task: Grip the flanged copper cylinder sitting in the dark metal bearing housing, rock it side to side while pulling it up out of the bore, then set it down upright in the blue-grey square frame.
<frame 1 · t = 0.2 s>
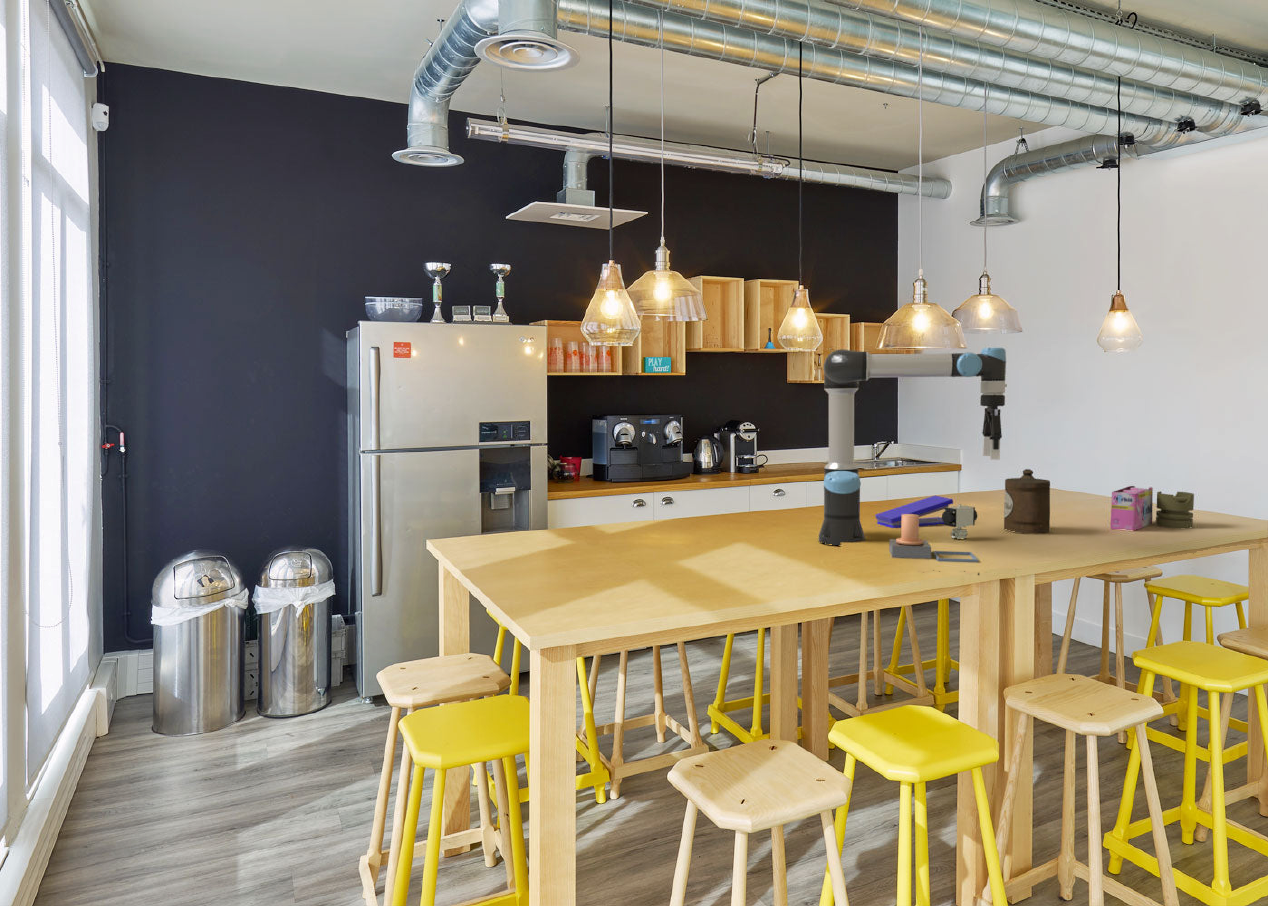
hand: (991, 457, 283), 28 cm above the table, tool pointing down, fingers open, 13 cm apart
bearing housing: (909, 559, 256), on the table
flanged copper cylinder: (909, 554, 256), point 1 cm above the table, touching bearing housing
pneumatic valve: (958, 539, 288), on the table
piston: (1173, 526, 307), on the table
wooden container: (1026, 531, 302), on the table
stapler: (915, 525, 318), on the table
gum box: (1131, 526, 308), on the table
blue-grey square frame: (954, 562, 250), on the table
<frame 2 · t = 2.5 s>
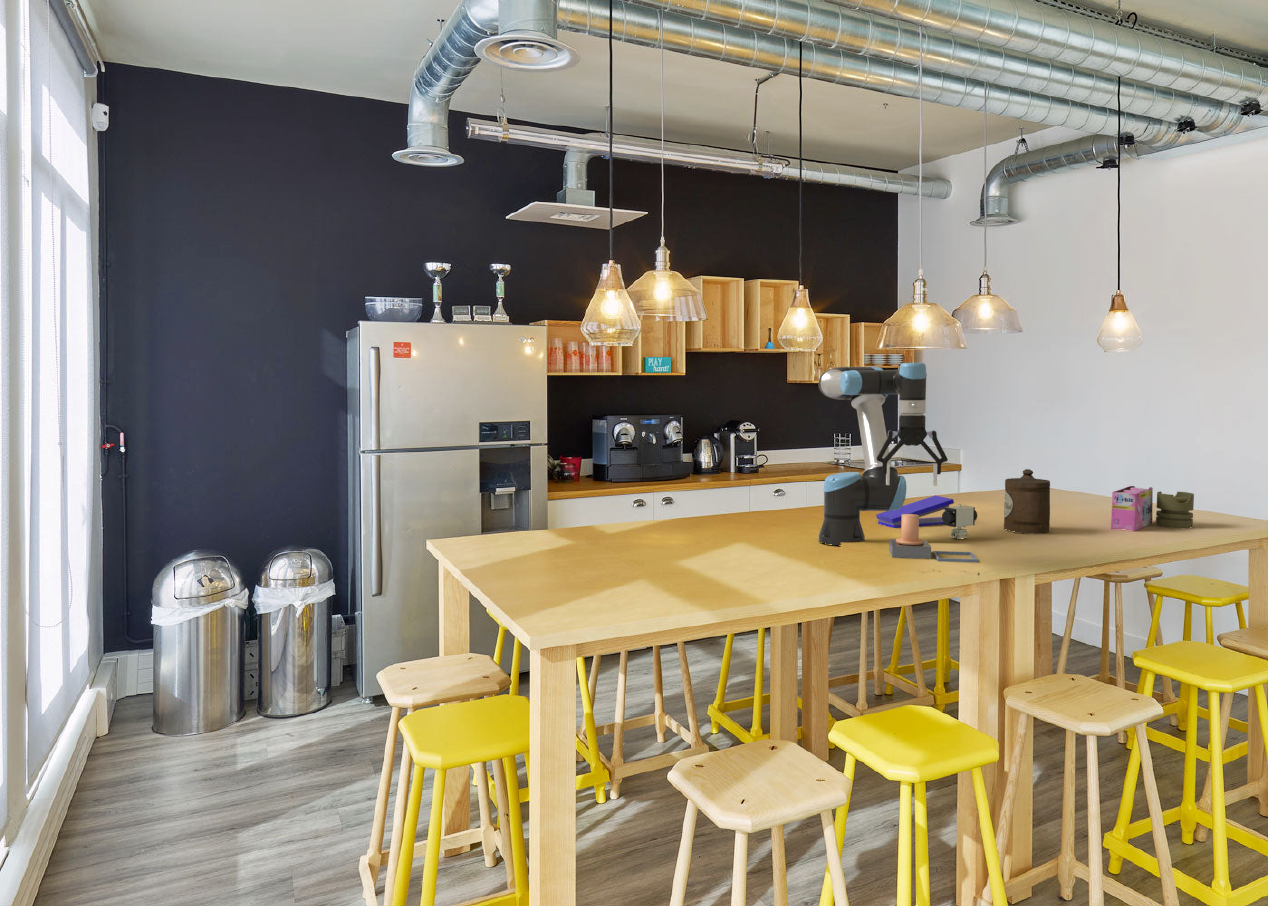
hand: (911, 485, 254), 23 cm above the table, tool pointing down, fingers open, 13 cm apart
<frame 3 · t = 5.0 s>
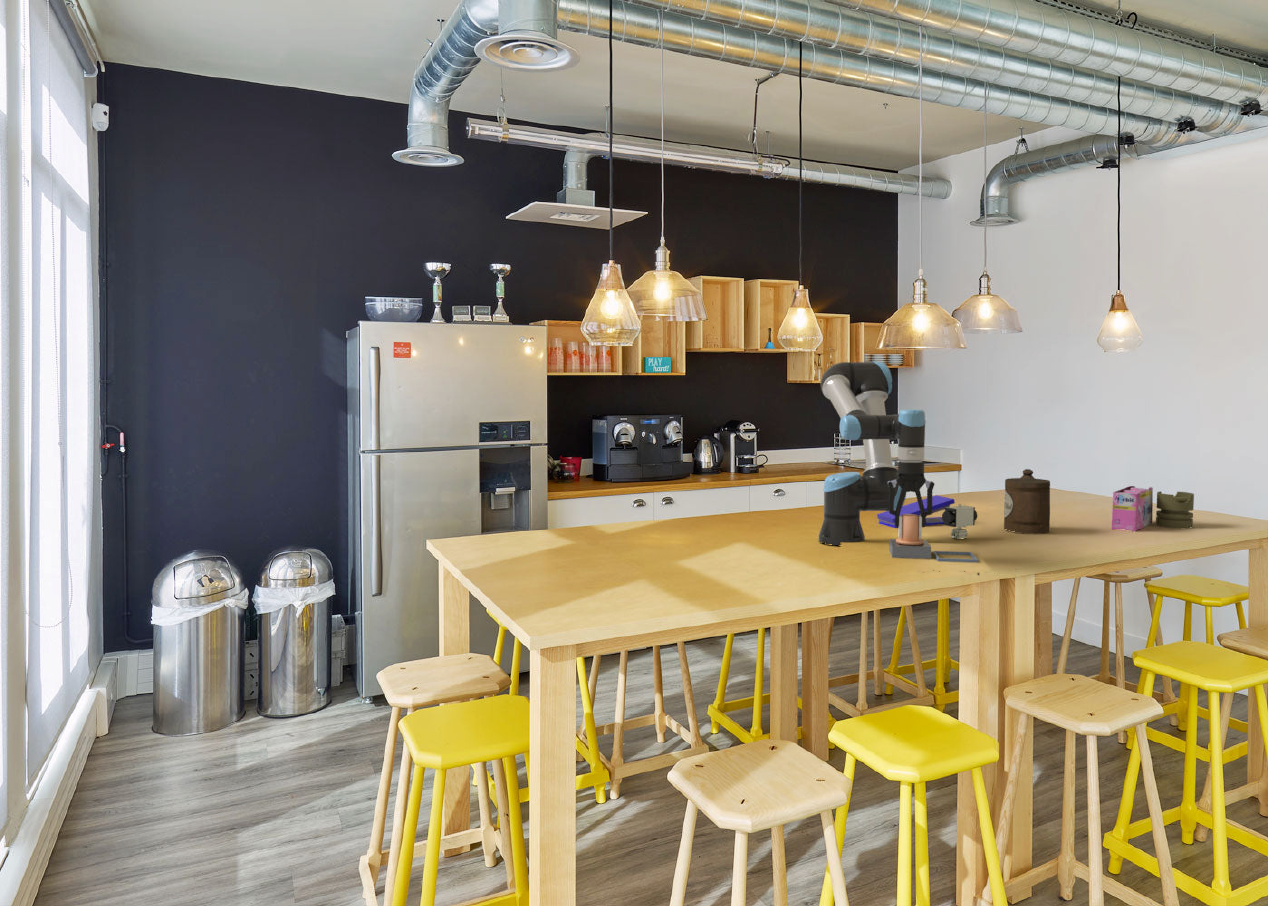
hand: (909, 537, 255), 7 cm above the table, tool pointing down, fingers closed on flanged copper cylinder, 5 cm apart
flanged copper cylinder: (909, 554, 256), point 1 cm above the table, touching bearing housing, gripper
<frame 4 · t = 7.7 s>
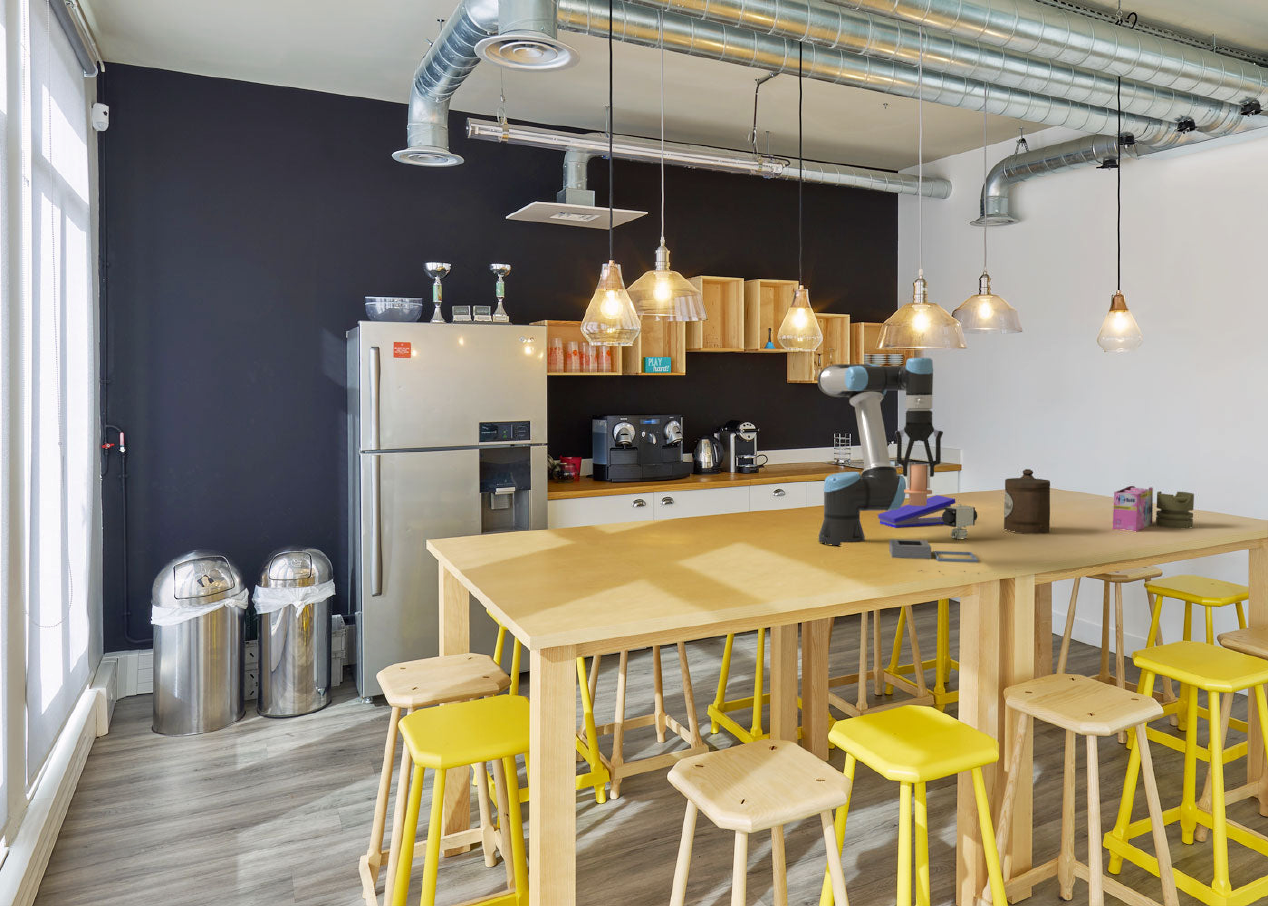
hand: (918, 487, 253), 22 cm above the table, tool pointing down, fingers closed on flanged copper cylinder, 5 cm apart
flanged copper cylinder: (917, 504, 253), point 17 cm above the table, touching gripper
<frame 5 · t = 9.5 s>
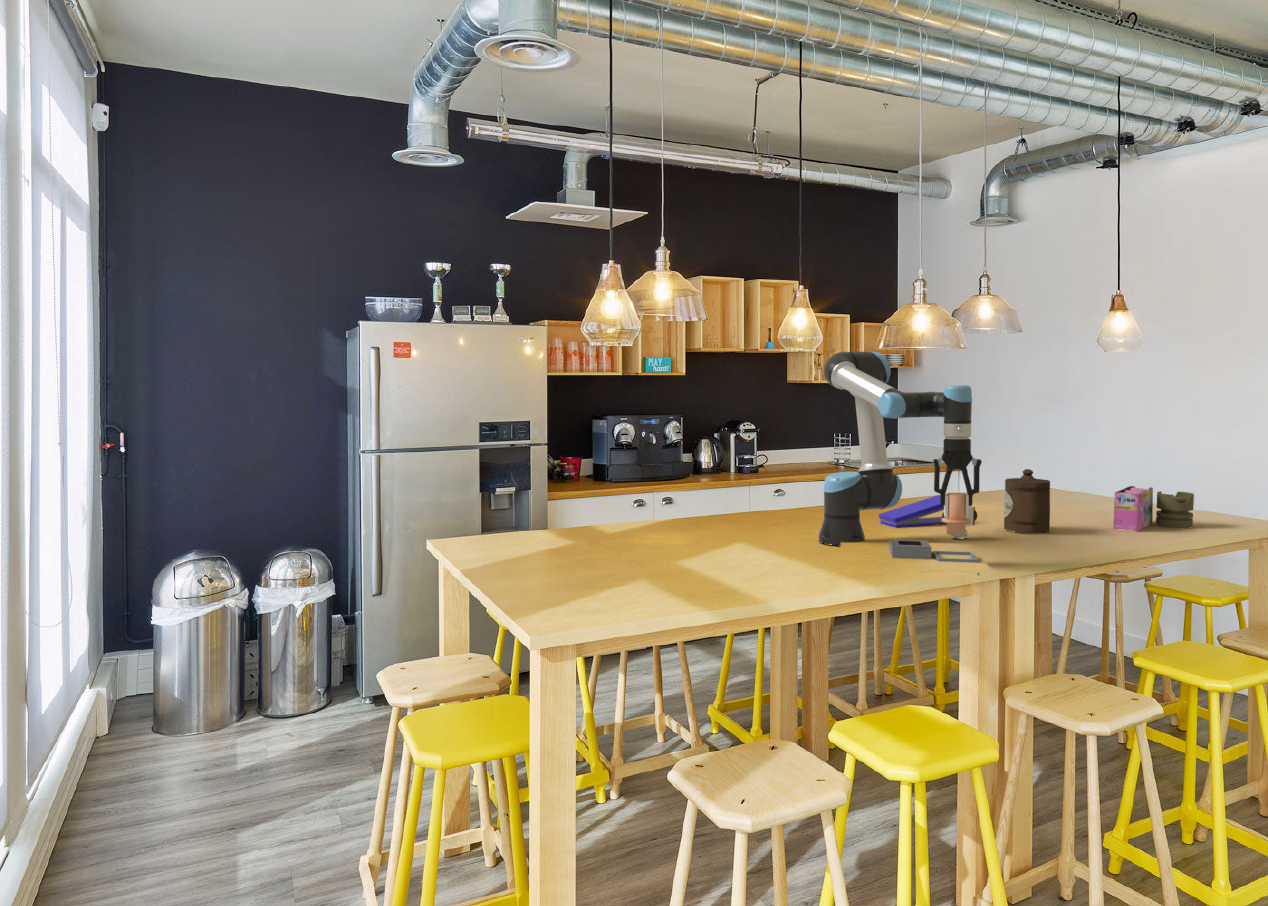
hand: (955, 516, 249), 14 cm above the table, tool pointing down, fingers closed on flanged copper cylinder, 5 cm apart
flanged copper cylinder: (955, 534, 249), point 9 cm above the table, touching gripper
when the fingers open (8 cm above the table, at t = 10.7 s): flanged copper cylinder drops 2 cm, resting on blue-grey square frame.
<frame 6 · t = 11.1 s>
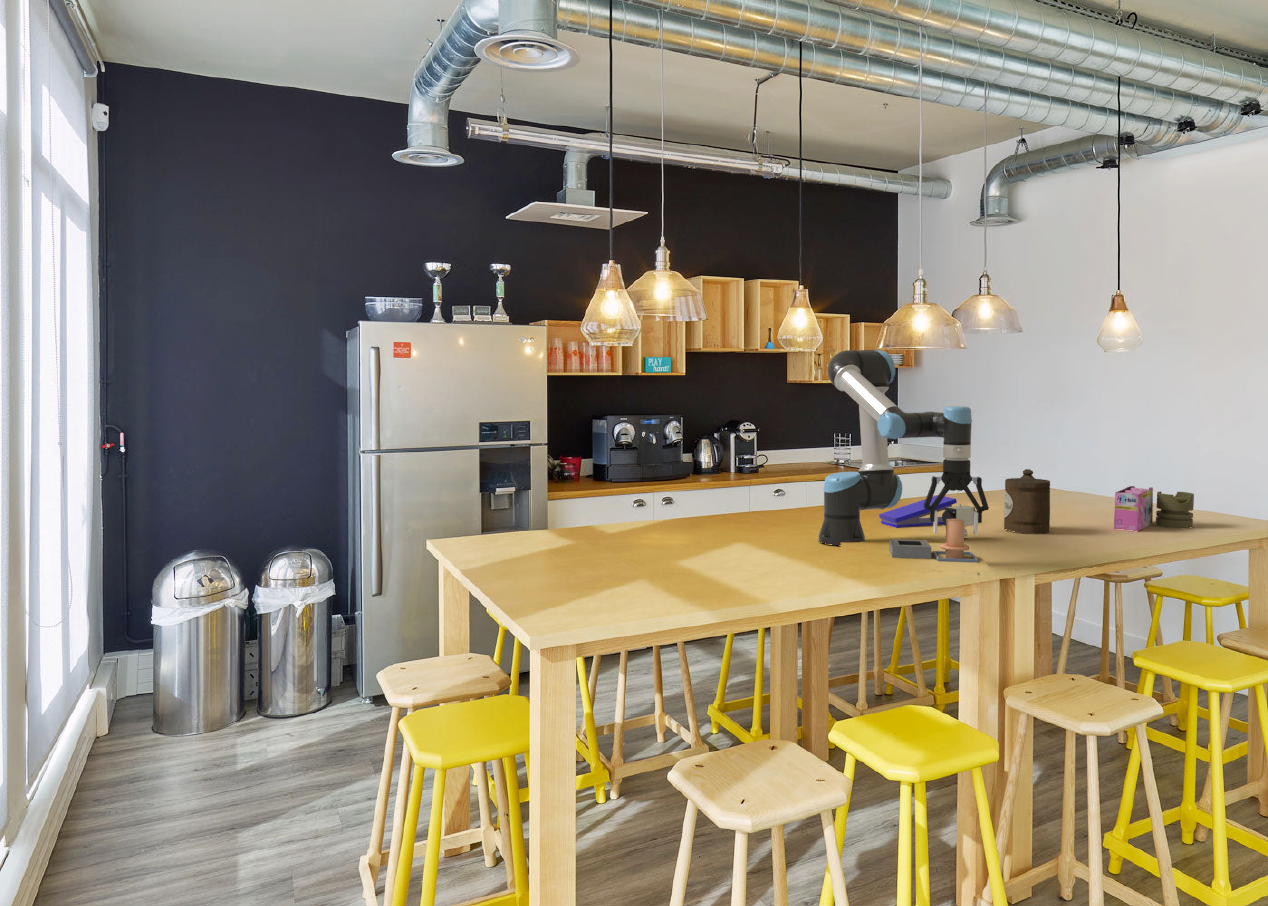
hand: (955, 533, 250), 9 cm above the table, tool pointing down, fingers open, 10 cm apart
flanged copper cylinder: (954, 560, 250), point 1 cm above the table, touching blue-grey square frame
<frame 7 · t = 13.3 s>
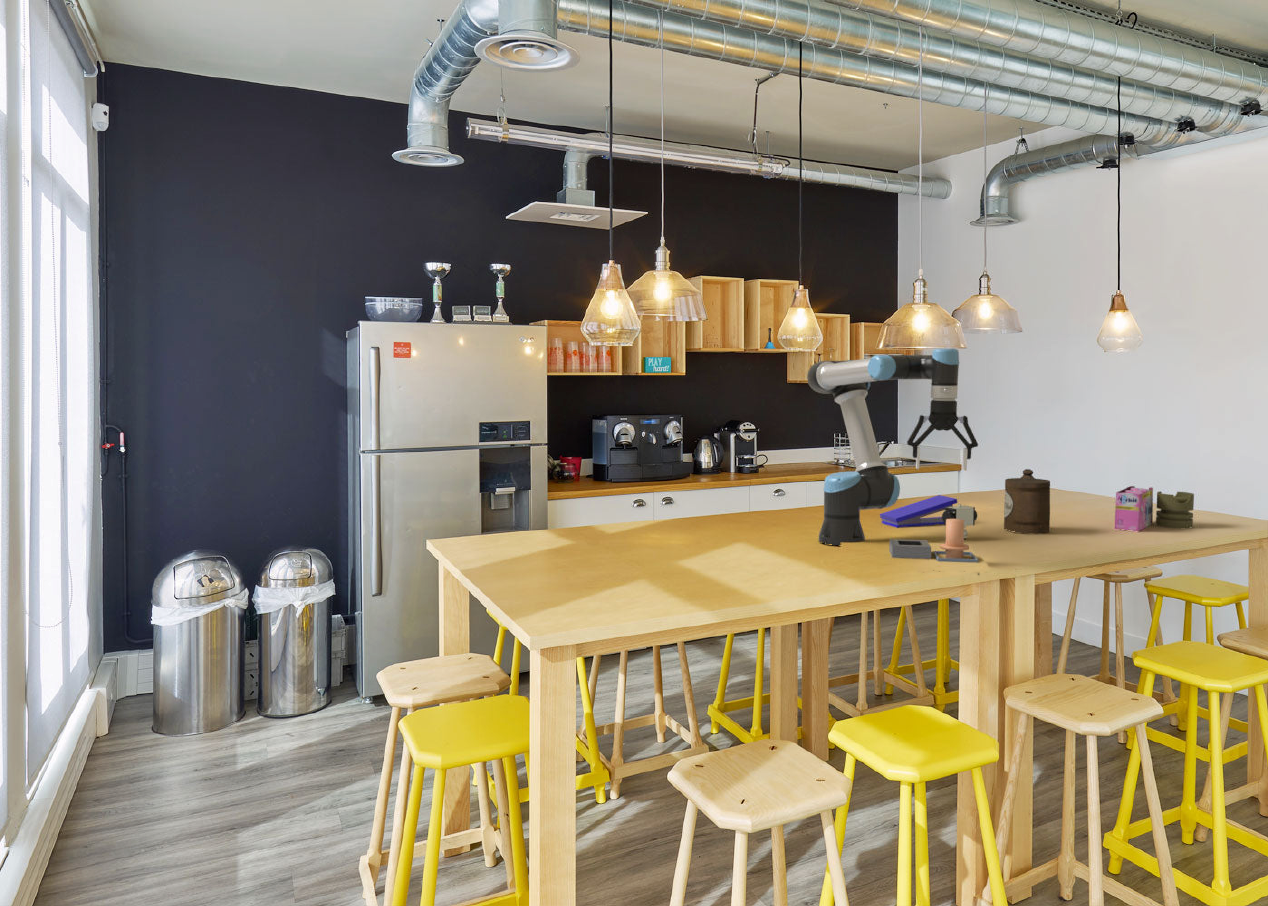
hand: (940, 469, 258), 27 cm above the table, tool pointing down, fingers open, 13 cm apart
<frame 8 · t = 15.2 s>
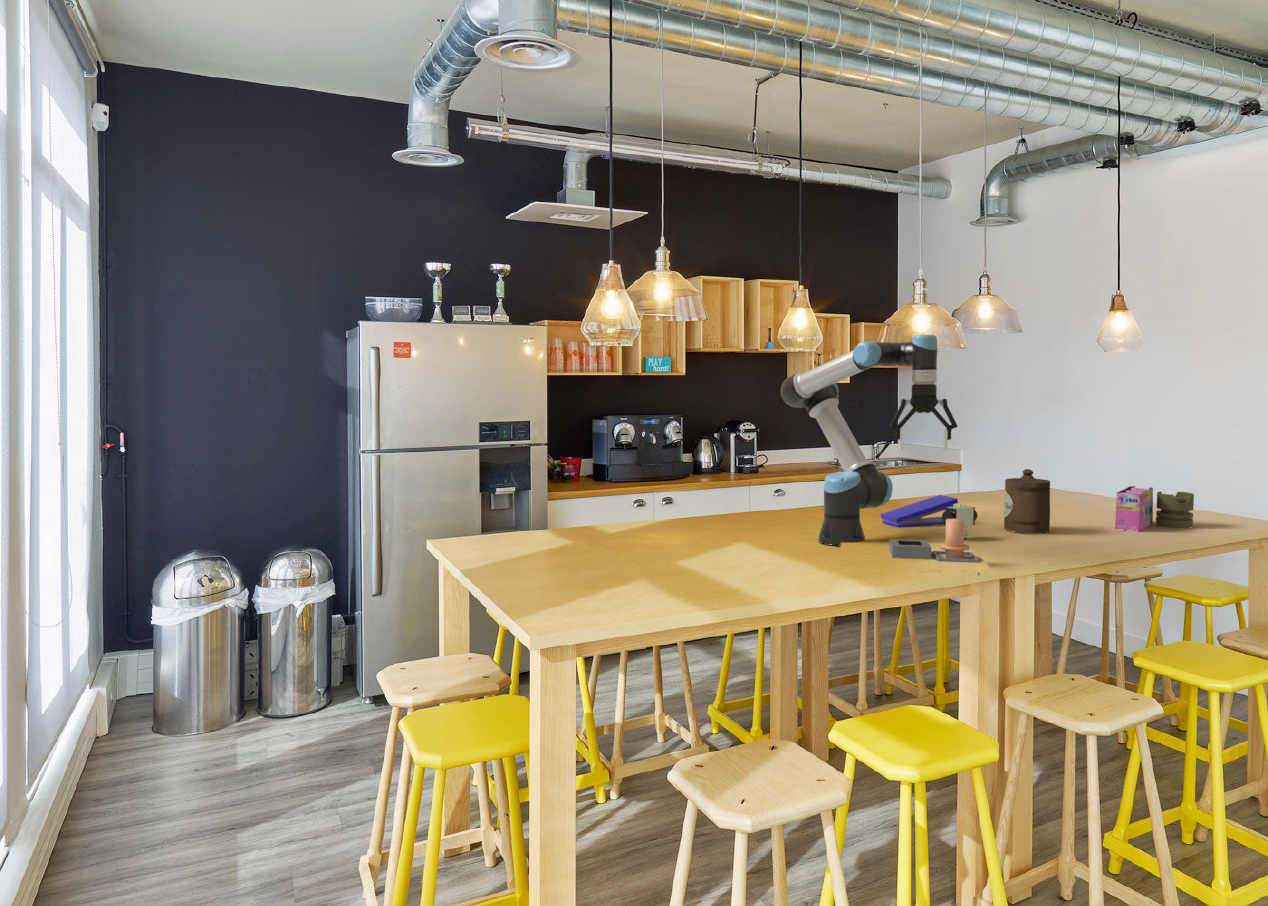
hand: (923, 450, 271), 32 cm above the table, tool pointing down, fingers open, 13 cm apart
at the end: flanged copper cylinder inside the target area on the blue-grey square frame (0.1 cm from its centre), point 0.8 cm above the blue-grey square frame's base; flanged copper cylinder tilted 1°; the gripper is holding nothing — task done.
